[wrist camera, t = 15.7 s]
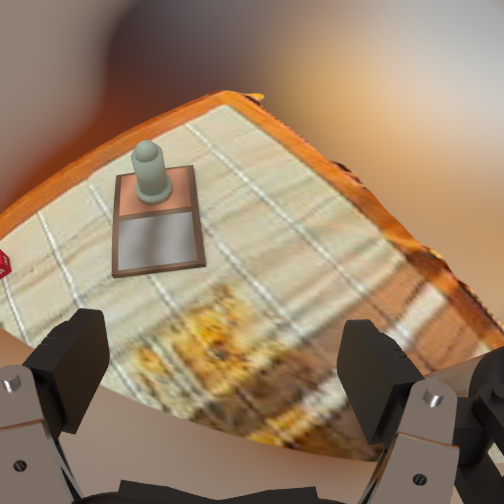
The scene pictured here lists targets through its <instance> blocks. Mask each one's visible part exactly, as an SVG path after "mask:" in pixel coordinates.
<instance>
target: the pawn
mask: <svg viewBox="0 0 504 504" xmlns="http://www.w3.org/2000/svg"><path fill="white" fill-rule="evenodd" d="M131 160H132V163H133V167H134V171H135V174H136V178H137V183H136V192H137V196H138V198H139V200H140V201H141V202H142V203H144V204H146V205H158V204H161V203H163V202H165V201H166V200H167V199H168V198H169V197H170V196H171V194H172V183H171V179H170V177H169V176H168V175H167V174H166V171H165V165H164V158H163V152H162V149H161V147H159V146H158V145H156V144H155V143H153V142H152V141H149V140H144V141H142V142H140V143H139V144H138V145H137V146H136V148H135V150H134V151H133V153H132V155H131Z"/></svg>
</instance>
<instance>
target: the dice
mask: <svg viewBox="0 0 504 504" xmlns="http://www.w3.org/2000/svg"><path fill="white" fill-rule="evenodd" d="M10 272H11V267H10V263H9V258H8V256H7V255H6V254H5V253H4V252H3V251H2V250H1V249H0V279H1V278H2V277H4V276H6V275H7V274H9V273H10Z"/></svg>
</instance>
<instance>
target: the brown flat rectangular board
mask: <svg viewBox="0 0 504 504" xmlns="http://www.w3.org/2000/svg"><path fill="white" fill-rule="evenodd" d="M165 171H166V174H167V175H168V176H169V177H170V179H171V183H172V194H171V196H170V197H169V198H168V199H167V200H166V201H165V202H163V203H161V204H158V205H146V204H144V203H142V202H141V201H140V200H139V198H138V196H137V192H136V183H137V178H136V174H135V173H129V174H123V175H116V184H115V197H114V212H113V234H112V276H113V277H114V278H117V277H125V276H133V275H141V274H149V273H157V272H165V271H173V270H181V269H189V268H197V267H205V257H204V250H203V243H202V235H201V227H200V220H199V212H198V203H197V195H196V186H195V177H194V168H193V165H189V166H180V167H172V168H165Z"/></svg>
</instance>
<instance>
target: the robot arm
mask: <svg viewBox="0 0 504 504" xmlns="http://www.w3.org/2000/svg"><path fill="white" fill-rule="evenodd" d="M109 359H110V352H109V345H108V339H107V333H106V327H105V321H104V315H103V313H102V311H101V310H94V309H84V308H80V309H78V310H77V312H76V313H75V314H74V315H73V316H72V317H71V318H70V320H69V321H64V322H63V323H61V324H59V325H57V326H56V327H54V328H53V329H52V330H51V332H50V333H49V334H48V335H47V337H45V338H44V340H43V341H42V342H41V344H39V345H38V346H37V348H36V349H35V350H34V351H33V352H32V354H31V355H30V356H29V357H28V358H27V359H26V361H25V362H24V363H23V364H22V365H9V366H5V367H2V368H0V504H345V503H341V502H338V501H334V500H328V499H320V498H318V496H317V491H316V488H315V486H314V487H304V488H292V489H278V490H266V491H262V492H258V493H253V494H249V495H244V496H239V497H234V498H229V499H223V500H214V499H209V498H205V497H201V496H197V495H194V494H190V493H187V492H183V491H180V490H177V489H173V488H170V487H167V486H158V485H151V484H143V483H138V482H132V481H126V480H121V483H120V487H119V491H118V492H107V493H100V494H96V495H91V496H88V497H84V495H83V493H82V491H81V489H80V487H79V485H78V483H77V481H76V479H75V477H74V474H73V472H72V470H71V467H70V465H69V463H68V460H67V458H66V455H65V453H64V450H63V447H62V445H61V442H60V440H59V438H58V437H59V436H60V433H61V431H63V432H67V433H71V434H76V432H77V430H78V427H79V425H80V423H81V421H82V419H83V417H84V415H85V413H86V411H87V408H88V406H89V404H90V402H91V400H92V398H93V396H94V394H95V392H96V390H97V388H98V386H99V384H100V382H101V380H102V378H103V376H104V374H105V372H106V370H107V368H108V365H109ZM337 374H338V377H339V379H340V381H341V384H342V386H343V388H344V390H345V392H346V395H347V397H348V399H349V401H350V403H351V406H352V408H353V410H354V412H355V415H356V417H357V419H358V421H359V424H360V426H361V428H362V430H363V433H364V435H365V437H366V439H367V442H368V444H369V445H371V444H377V443H382V442H383V444H384V446H385V448H384V450H383V452H382V454H381V456H380V458H379V461H378V463H377V465H376V467H375V470H374V472H373V474H372V477H371V479H370V480H369V483H368V485H367V487H366V489H365V491H364V493H363V495H362V497H361V499H360V500H359V502H358V504H450V500H451V496H452V491H453V486H454V485H455V487H456V489H457V491H458V493H459V495H460V497H461V499H462V501H463V503H464V504H504V476H503V477H502V476H501V474H500V472H499V471H498V469H497V468H496V466H495V464H494V463H493V461H492V459H491V458H490V456H489V455H488V453H487V452H488V451H489V449H490V448H491V446H492V445H493V443H494V442H495V444H496V445H497V447H498V448H499V450H500V451H501V453H502V454H503V456H504V346H503V347H500V348H498V349H495V350H493V351H491V352H488V353H486V354H483V355H481V356H478V357H475V358H473V359H470V360H468V361H465V362H462V363H460V364H457V365H454V366H451V367H448V368H445V369H442V370H439V371H436V372H433V373H430V374H427V375H422V374H421V373H420V372H419V370H418V369H417V368H416V366H415V365H414V364H413V363H412V361H411V360H410V359H409V358H407V355H406V354H405V353H404V351H402V349H401V348H400V346H399V345H398V344H397V343H396V341H395V340H393V339H392V338H390V337H389V336H387V335H386V334H384V333H380V332H379V331H378V329H377V328H376V327H375V326H374V324H373V323H372V322H371V321H370V320H369V319H364V320H347V321H346V323H345V326H344V330H343V335H342V340H341V344H340V349H339V353H338V358H337Z"/></svg>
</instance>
